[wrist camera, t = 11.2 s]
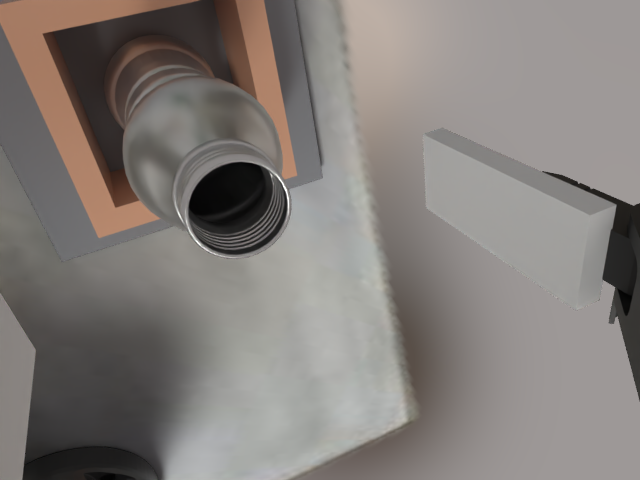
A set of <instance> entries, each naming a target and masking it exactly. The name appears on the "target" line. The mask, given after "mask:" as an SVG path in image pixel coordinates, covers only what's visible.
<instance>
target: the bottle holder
mask: <svg viewBox="0 0 640 480" xmlns="http://www.w3.org/2000/svg"><path fill="white" fill-rule="evenodd" d="M147 35H164V36H169V37H173V38H176V39H178V40H180V41H183V42H185V43H186V44H188V45H189V46H191V47H192V48H194V49H195V50H196V51H197V52H198V53H199V54H200V55H201V56H202V57H203V58H204V59H205V61H206V62H207V63H208V65H209V66H210V68H211V70H212V72H213V74H214V77H215V78H219V79H221V80H224V81H226V82H229V83H231V84H234V85H235V86H237V87H239V88H241V89H242V90H244V91H245V92H247V93H248V94H250V95H252V96H253V97H254V98H255V99H256V100H257V101H258V102H259V103H260V104H261V105H262V106H263V107H264V108H265V110H266V111H267V113H268V114H269V115H270V117H271V118H272V120H273V122H274V125H275V127H276V129H277V132H278V135H279V140H280V144H281V149H282V154H283V169H282V177H283V178H284V180H285V182H286V184H287V186H288V189H291V188H294V187H297V186H300V185H303V184H306V183H309V182H312V181H315V180H319V179H322V178H323V176H322V170H321V164H320V158H319V151H318V145H317V139H316V133H315V127H314V120H313V114H312V108H311V102H310V96H309V90H308V83H307V77H306V71H305V65H304V59H303V52H302V46H301V40H300V34H299V28H298V22H297V15H296V9H295V3H294V0H0V144H1V146H2V148H3V150H4V152H5V154H6V156H7V158H8V160H9V161H10V163H11V165H12V167H13V169H14V171H15V173H16V175H17V177H18V179H19V181H20V183H21V185H22V186H23V188H24V190H25V192H26V194H27V196H28V198H29V200H30V202H31V204H32V206H33V208H34V210H35V212H36V213H37V215H38V217H39V219H40V221H41V223H42V225H43V227H44V229H45V231H46V233H47V235H48V237H49V238H50V240H51V242H52V244H53V246H54V248H55V250H56V252H57V254H58V256H59V258H60V260H61V262H64V261H67V260H70V259H73V258H76V257H79V256H82V255H85V254H88V253H92V252H95V251H98V250H101V249H104V248H107V247H110V246H113V245H116V244H120V243H123V242H126V241H129V240H132V239H135V238H138V237H141V236H144V235H148V234H151V233H154V232H157V231H160V230H163V229H166V228H169V227H172V226H171V225H169V224H168V223H166V222H165V221H163V220H162V219H161V218H159V217H158V216H156V215H155V214H153V213H152V212H150V211H149V210H148V209H147V208H146V207H145V206H144V205H143V204H142V203H141V202H140V200H139V199H138V197H137V196H136V194H135V193H134V191H133V190H132V188H131V186H130V184H129V181H128V179H127V176H126V173H125V168H124V162H123V135H124V129H123V128H122V127H121V126H120V125H119V124H118V123H117V122H116V120H115V118H114V117H113V115H112V114H111V112H110V110H109V107H108V105H107V102H106V98H105V92H104V77H105V73H106V69H107V66H108V64H109V62H110V60H111V58H112V57H113V55H114V54H115V53H116V52H117V51H118V49H119V48H121V47H122V46H123V45H125V44H126V43H127V42H129V41H131V40H133V39H136V38H138V37H142V36H147Z"/></svg>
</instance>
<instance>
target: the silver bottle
mask: <svg viewBox="0 0 640 480" xmlns="http://www.w3.org/2000/svg"><path fill="white" fill-rule="evenodd" d="M104 92H105V98H106V102H107V105H108V107H109V110H110V112H111V114H112V115H113V117H114V118H115V120H116V122H117V123H118V124H119V125H120V126H121V127H122V128H123V129H124V135H123V162H124V168H125V173H126V176H127V179H128V181H129V184H130V186H131V188H132V190H133V191H134V193H135V194H136V196H137V197H138V199H139V200H140V202H141V203H142V204H143V205H144V206H145V207H146V208H147V209H148V210H149V211H150V212H152V213H153V214H155V215H156V216H158V217H159V218H161V219H162V220H163V221H165V222H166V223H168V224H169V225H171V226H174V227H176V228H178V229H181V230H183V231H187V232H188V233H189V235H190V236H191V238H192V239H193V240H194V241H195V242H196V243H197V244H198V245H199V246H200V247H201V248H202V249H204V250H205V251H207V252H208V253H211V254H213V255H215V256H218V257H222V258H227V259H240V258H247V257H250V256H253V255H256V254H259V253H260V252H262V251H264V250H266V249H267V248H269V247H270V246H271V245H273V244H274V243H275V242H276V241H277V240H278V239H279V237H280V236H281V235H282V233H283V232H284V230H285V229H286V227H287V224H288V222H289V219H290V214H291V196H290V191H289V189H288V186H287V184H286V182H285V180H284V178H283V177H282V169H283V154H282V149H281V144H280V140H279V135H278V132H277V129H276V127H275V125H274V122H273V120H272V118H271V117H270V115H269V114H268V113H267V111H266V110H265V108H264V107H263V106H262V105H261V104H260V103H259V102H258V101H257V100H256V99H255V98H254V97H253V96H252V95H250V94H248V93H247V92H245V91H244V90H242V89H241V88H239V87H237V86H235V85H234V84H231V83H229V82H226V81H224V80H221V79H219V78H215V77H214V74H213V72H212V70H211V68H210V66H209V65H208V63H207V62H206V61H205V59H204V58H203V57H202V56H201V55H200V54H199V53H198V52H197V51H196V50H195V49H194V48H192V47H191V46H189V45H188V44H186V43H185V42H183V41H180V40H178V39H176V38H173V37H169V36H164V35H147V36H142V37H138V38H136V39H133V40H131V41H129V42H127V43H126V44H125V45H123V46H122V47H121V48H119V49H118V51H117V52H116V53H115V54H114V55H113V57H112V58H111V60H110V62H109V64H108V66H107V69H106V73H105V77H104Z"/></svg>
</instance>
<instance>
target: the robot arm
mask: <svg viewBox="0 0 640 480" xmlns="http://www.w3.org/2000/svg"><path fill="white" fill-rule="evenodd" d="M423 151H424V171H425V193H426V208H427V209H429V210H430V211H432V212H433V213H434V214H436V215H437V216H439V217H440V218H442V219H443V220H444V221H446V222H447V223H449V224H450V225H452V226H453V227H455V228H456V229H458V230H459V231H460V232H462V233H463V234H465V235H466V236H468V237H469V238H471V239H472V240H473V241H475V242H476V243H478V244H479V245H481V246H482V247H484V248H485V249H487V250H488V251H490V252H491V253H492V254H494V255H495V256H497V257H498V258H500V259H501V260H503V261H504V262H505V263H507V264H508V265H510V266H511V267H513V268H514V269H515V270H517V271H519V272H520V273H521V274H523V275H524V276H526V277H527V278H528V279H530V280H531V281H533V282H534V283H536V284H537V285H539V286H540V287H542V288H543V289H545V290H546V291H547V292H549V293H550V294H552V295H553V296H555V297H556V298H557V299H559V300H560V301H562V302H563V303H565V304H566V305H568V306H569V307H570V308H572V309H573V310H575V311H578V310H580V309H582V308H584V307H586V306H588V305H590V304H592V303H594V302H597V301H599V300H600V295H601V288H602V283H603V280H604V281H606V282H608V283H609V284H611V285H613V286H614V287H615V292H614V297H613V302H612V307H611V312H610V317H609V323H610V324H614V321H615V317H617V316H618V319H619V323H620V327H621V331H622V335H623V339H624V342H625V346H626V350H627V354H628V358H629V361H630V365H631V369H632V373H633V377H634V381H635V385H636V388H637V392H638V396H639V400H640V203H639V204H636V205H635V206H633V205H630V204H628V203H626V202H623V201H621V200H619V199H616V198H614V197H611V196H609V195H607V194H605V193H602V192H600V191H598V190H596V189H590V187H588V186H586V185H584V184H581V183H580V184H578V182H577V181H574V180H572V179H570V178H568V177H565V176H563V175H559V174H554V173H549V172H544V171H542V172H541V171H539V170H537V169H535V168H532V167H530V166H528V165H525V164H523V163H521V162H519V161H516V160H514V159H512V158H510V157H507V156H505V155H503V154H501V153H498V152H496V151H493V150H491V149H489V148H487V147H485V146H482V145H480V144H478V143H476V142H473V141H471V140H468V139H467V138H464V137H462V136H460V135H458V134H455V133H453V132H451V131H448V130H446V129H444V128H441V129H438V130H434V131H431V132H428V133H425V134H423ZM35 355H36V350H35V348H34V346H33V345H32V343H31V341H30V340H29V338H28V337H27V335H26V333H25V332H24V330H23V329H22V327H21V325H20V324H19V322H18V320H17V319H16V317H15V316H14V314H13V312H12V311H11V309H10V308H9V306H8V304H7V303H6V301H5V299H4V298H3V296H2V295H1V293H0V480H158V478H157V475H156V473H155V471H154V470H153V468H152V467H151V466H150V465H149V464H148V463H147V462H146V461H145V460H143V459H142V458H140V457H138V456H136V455H134V454H132V453H129V452H126V451H123V450H119V449H113V448H103V447H89V448H78V449H72V450H66V451H62V452H58V453H55V454H51V455H48V456H45V457H43V458H40V459H37V460H35V461H33V462H31V463H29V464H27V465H25V466H24V459H25V449H26V440H27V430H28V421H29V411H30V402H31V393H32V383H33V374H34V364H35Z"/></svg>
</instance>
